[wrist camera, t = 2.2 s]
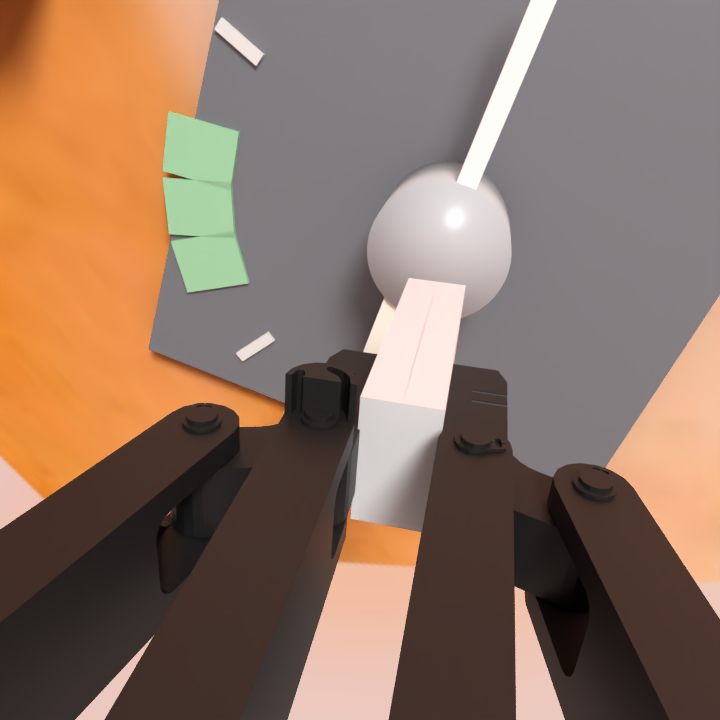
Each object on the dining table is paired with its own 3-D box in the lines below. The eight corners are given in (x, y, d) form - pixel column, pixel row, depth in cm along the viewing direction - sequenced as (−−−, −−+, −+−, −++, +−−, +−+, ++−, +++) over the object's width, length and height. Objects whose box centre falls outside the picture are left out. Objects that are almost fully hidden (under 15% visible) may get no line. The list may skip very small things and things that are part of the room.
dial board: (138, 332, 33) (126, 342, 32) (244, -223, 22) (231, -236, 21) (570, 504, 33) (572, 519, 32) (883, 23, 22) (902, 23, 21)
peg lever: (495, -95, 22) (495, -121, 18) (638, -40, 22) (666, -55, 18) (309, 416, 32) (286, 464, 28) (407, 455, 32) (395, 508, 28)
